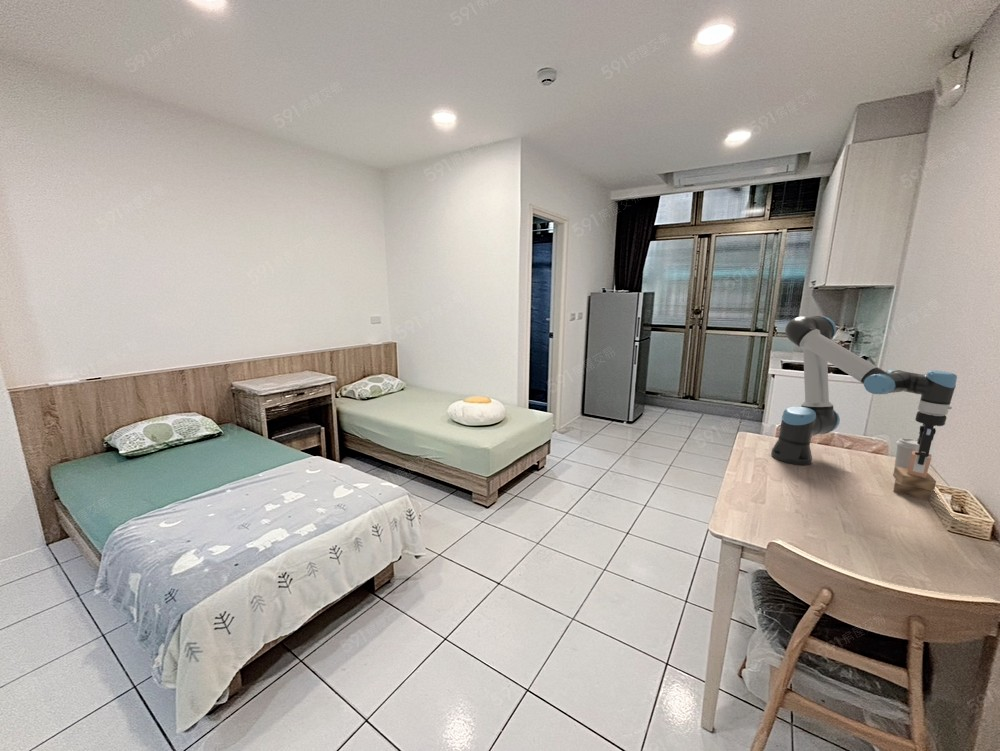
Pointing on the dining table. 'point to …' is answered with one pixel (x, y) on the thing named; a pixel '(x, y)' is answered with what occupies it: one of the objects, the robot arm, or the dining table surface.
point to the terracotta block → (912, 462)
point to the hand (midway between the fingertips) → (917, 466)
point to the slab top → (913, 479)
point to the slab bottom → (912, 491)
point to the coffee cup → (904, 451)
